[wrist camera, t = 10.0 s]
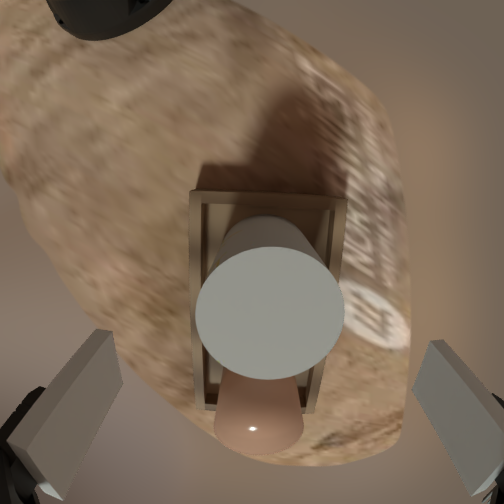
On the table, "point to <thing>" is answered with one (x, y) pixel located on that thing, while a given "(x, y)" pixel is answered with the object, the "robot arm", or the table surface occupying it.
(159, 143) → the table surface
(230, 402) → the tan rounded cylinder
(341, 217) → the caddy
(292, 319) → the grey cylinder
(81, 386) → the robot arm
